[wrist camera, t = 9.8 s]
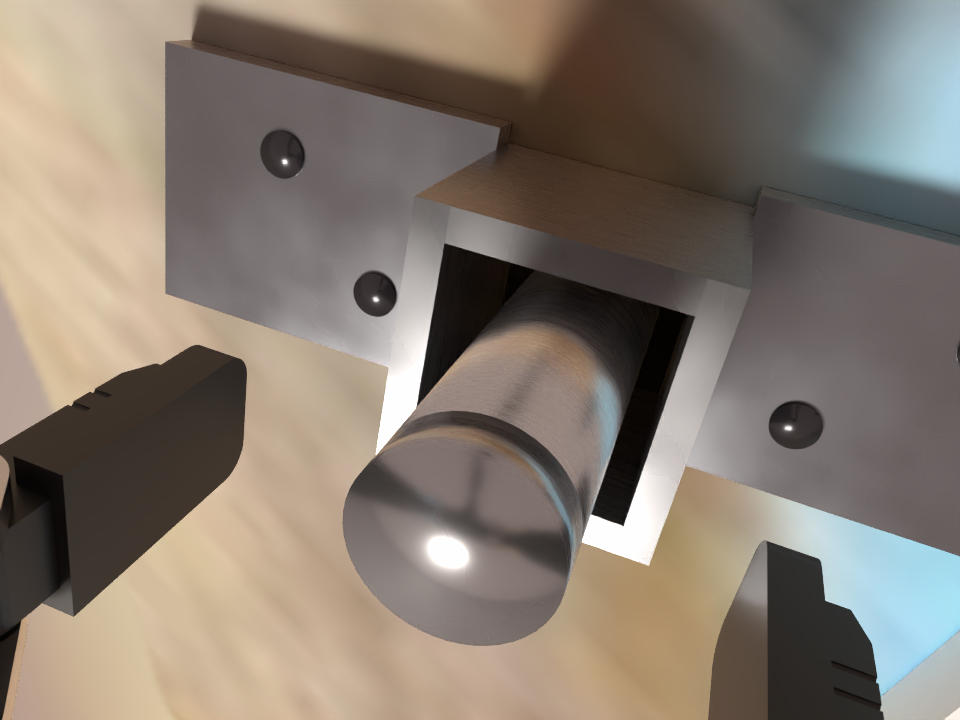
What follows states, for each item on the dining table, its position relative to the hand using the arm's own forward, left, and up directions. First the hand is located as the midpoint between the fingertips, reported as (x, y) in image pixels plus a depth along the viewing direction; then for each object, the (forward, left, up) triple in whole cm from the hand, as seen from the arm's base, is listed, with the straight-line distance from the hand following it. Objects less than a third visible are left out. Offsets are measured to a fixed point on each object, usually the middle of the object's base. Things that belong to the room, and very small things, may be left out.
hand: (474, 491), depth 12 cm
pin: (0, 0, -10) cm, 10 cm away
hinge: (0, 0, -10) cm, 10 cm away
